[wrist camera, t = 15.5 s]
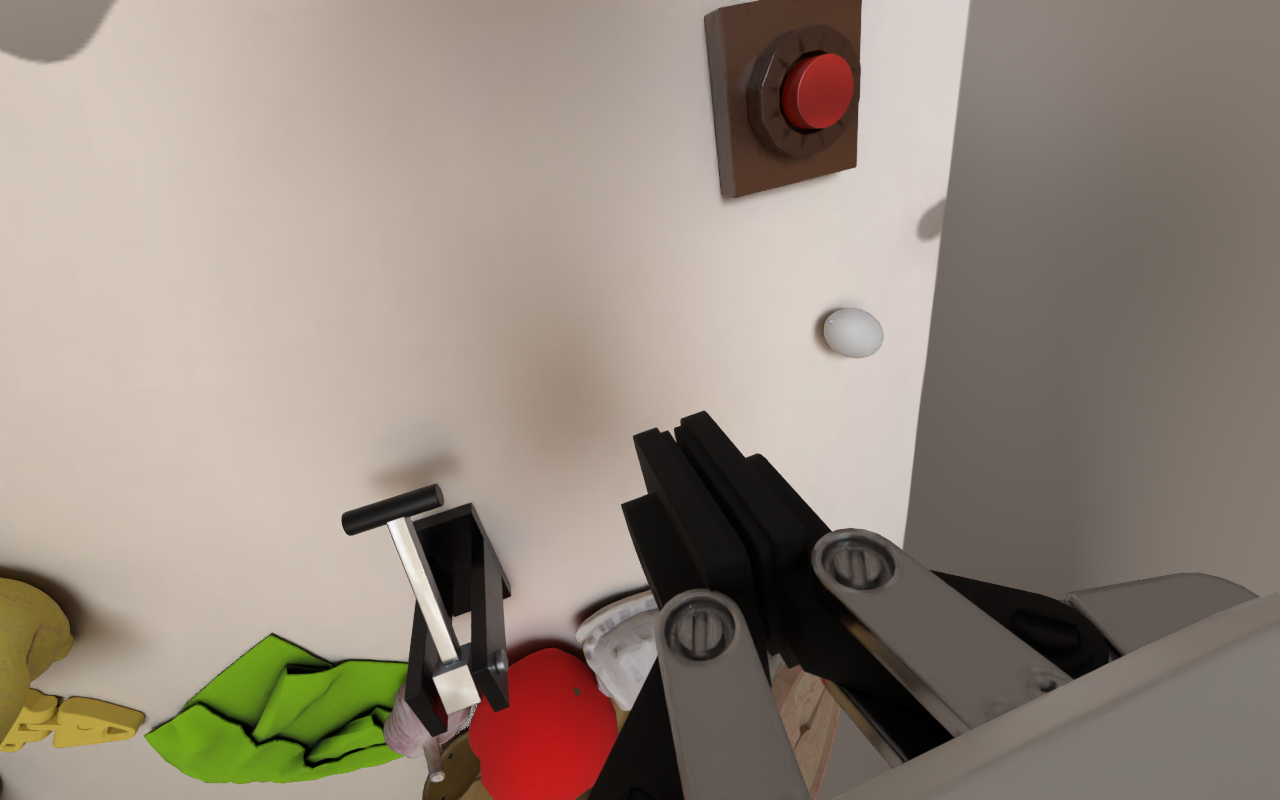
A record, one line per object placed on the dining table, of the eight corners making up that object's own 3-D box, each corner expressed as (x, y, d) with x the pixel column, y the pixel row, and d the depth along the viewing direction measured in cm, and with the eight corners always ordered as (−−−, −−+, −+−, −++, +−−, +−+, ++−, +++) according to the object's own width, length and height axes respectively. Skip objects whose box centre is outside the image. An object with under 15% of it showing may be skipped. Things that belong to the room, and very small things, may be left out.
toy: (-169, 753, 33) (-169, 701, 32) (-147, 732, 34) (-146, 681, 33) (130, 752, 40) (141, 708, 38) (140, 734, 41) (151, 692, 40)
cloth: (103, 739, 40) (82, 772, 38) (338, 591, 40) (331, 616, 38) (308, 814, 51) (301, 843, 49) (494, 698, 51) (494, 721, 49)
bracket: (400, 525, 39) (373, 675, 28) (477, 500, 40) (479, 636, 29) (448, 608, 44) (441, 762, 33) (516, 584, 45) (530, 726, 34)
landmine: (694, 989, 35) (592, 880, 41) (806, 858, 53) (723, 796, 59) (788, 639, 38) (681, 588, 45) (863, 629, 57) (779, 594, 63)
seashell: (723, 584, 53) (770, 669, 44) (633, 669, 55) (662, 767, 47) (643, 537, 47) (681, 627, 38) (546, 636, 49) (561, 741, 40)
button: (779, 63, 29) (796, 60, 27) (835, 52, 29) (855, 47, 28) (782, 134, 30) (798, 134, 29) (834, 121, 31) (853, 121, 30)
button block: (704, 15, 30) (734, 0, 26) (839, -11, 31) (884, -28, 28) (721, 194, 35) (748, 201, 31) (836, 165, 36) (874, 168, 33)
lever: (349, 506, 31) (334, 520, 29) (439, 478, 32) (432, 489, 30) (428, 698, 34) (420, 726, 31) (509, 667, 35) (507, 691, 32)
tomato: (500, 714, 38) (426, 821, 39) (649, 776, 40) (574, 872, 42) (521, 607, 49) (463, 693, 51) (636, 660, 52) (577, 740, 54)
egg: (902, 320, 41) (861, 325, 44) (854, 294, 38) (814, 301, 41) (893, 366, 40) (852, 367, 44) (844, 342, 38) (804, 346, 41)
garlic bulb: (386, 673, 43) (396, 769, 37) (473, 654, 47) (495, 738, 41) (376, 730, 46) (384, 828, 40) (459, 708, 50) (478, 793, 44)
